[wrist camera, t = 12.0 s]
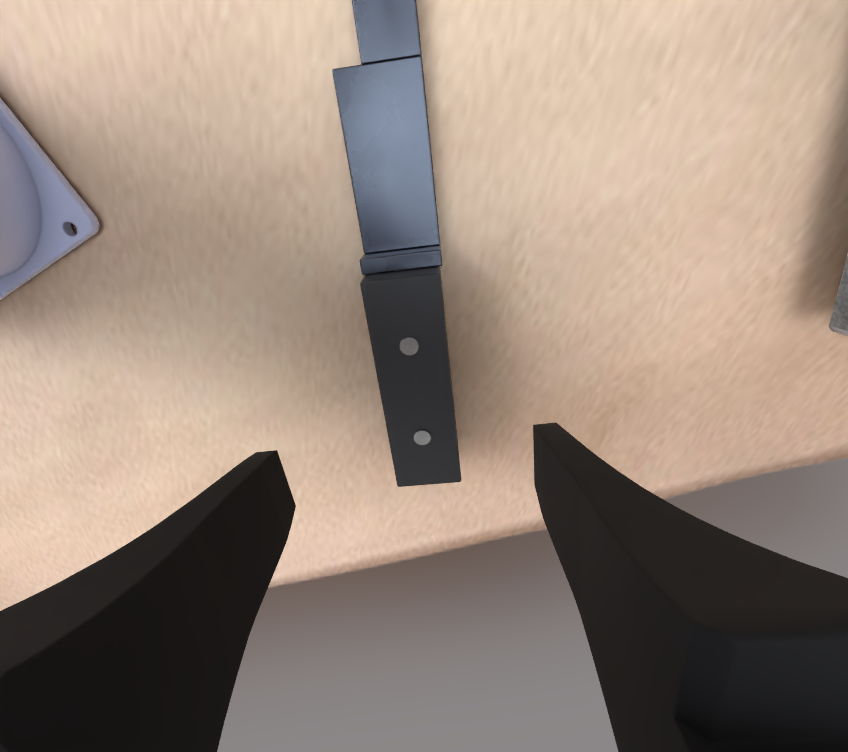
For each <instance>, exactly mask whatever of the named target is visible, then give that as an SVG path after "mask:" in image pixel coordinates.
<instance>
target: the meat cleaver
mask: <svg viewBox="0 0 848 752" xmlns="http://www.w3.org/2000/svg"><path fill="white" fill-rule="evenodd" d="M829 328H830V329H831V330H832V331H833V332H836V333H840V334H844V335H847V336H848V254H847V258H846V262H845V266H844V270H843V274H842V277H841V281H840V285H839V289H838V293H837V297H836V301H835V304H834V308H833V312H832V316H831V320H830V324H829Z"/></svg>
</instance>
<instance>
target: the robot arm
mask: <svg viewBox="0 0 848 752" xmlns="http://www.w3.org/2000/svg"><path fill="white" fill-rule="evenodd" d="M71 223H72V224H74V225H75V227H76V229H77V234H76V233H75V232H73V230H72V228H71ZM98 230H99V222H98V219H97V217H96V216H95V214H94V213H93V212H92V211H91V209H90V208H89V207H88V206H87V204H86V203H85V202H84V201H83V200H82V198H81V197H80V196H79V195H78V193H77V192H76V191H75V190H74V188H73V187H72V186H71V185H70V183H69V182H68V181H67V180H66V178H65V177H64V176H63V175H62V173H61V172H60V171H59V170H58V169H57V167H56V166H55V165H54V164H53V162H52V161H51V160H50V159H49V157H48V156H47V155H46V154H45V152H44V151H43V150H42V149H41V147H40V146H39V145H38V144H37V142H36V141H35V140H34V139H33V137H32V136H31V135H30V134H29V133H28V131H27V130H26V129H25V128H24V126H23V125H22V124H21V123H20V121H19V120H18V119H17V118H16V116H15V115H14V114H13V113H12V111H11V110H10V109H9V108H8V106H7V105H6V104H5V103H4V102H3V100H2V99H1V98H0V300H2V299H3V298H4V297H6V296H7V295H9V294H10V293H12V292H13V291H14V290H16V289H17V288H19V287H20V286H22V285H23V284H24V283H26V282H27V281H29V280H30V279H32V278H33V277H35V276H36V275H37V274H39V273H40V272H42V271H43V270H45V269H46V268H47V267H49V266H50V265H52V264H53V263H55V262H56V261H57V260H59V259H60V258H62V257H63V256H65V255H66V254H67V253H69V252H70V251H72V250H73V249H75V248H76V247H78V246H79V245H80V244H82V243H83V242H85V241H86V240H88V239H89V238H90V237H92V236H93V235H95V234H96V233H97V232H98ZM533 437H534V481H535V488H536V492H537V496H538V500H539V504H540V508H541V512H542V515H543V519H544V521H545V524H546V527H547V529H548V532H549V534H550V537H551V539H552V542H553V545H554V547H555V550H556V552H557V555H558V557H559V560H560V562H561V565H562V567H563V570H564V572H565V575H566V577H567V580H568V582H569V585H570V587H571V590H572V592H573V595H574V598H575V600H576V603H577V606H578V609H579V612H580V615H581V618H582V622H583V625H584V629H585V632H586V635H587V639H588V642H589V646H590V649H591V652H592V656H593V660H594V663H595V667H596V670H597V674H598V677H599V681H600V685H601V688H602V692H603V695H604V699H605V703H606V706H607V710H608V714H609V718H610V721H611V725H612V729H613V733H614V736H615V740H616V744H617V747H618V752H848V578H845V577H843V576H840V575H837V574H834V573H830V572H828V571H825V570H822V569H819V568H816V567H813V566H810V565H807V564H804V563H802V562H799V561H796V560H793V559H791V558H788V557H786V556H783V555H780V554H778V553H776V552H773V551H770V550H768V549H766V548H763V547H761V546H758V545H756V544H753V543H751V542H749V541H746V540H744V539H742V538H739V537H737V536H735V535H732V534H730V533H728V532H725V531H724V530H722V529H719V528H717V527H715V526H713V525H711V524H709V523H707V522H705V521H703V520H700V519H698V518H696V517H694V516H692V515H690V514H688V513H686V512H685V511H683V510H681V509H679V508H677V507H675V506H674V505H672V504H670V503H668V502H666V501H665V500H663V499H661V498H659V497H658V496H656V495H654V494H652V493H651V492H649V491H648V490H646V489H644V488H643V487H641V486H639V485H638V484H636V483H635V482H633V481H632V480H630V479H629V478H627V477H626V476H624V475H623V474H621V473H620V472H619V471H617V470H616V469H614V468H613V467H611V466H610V465H609V464H607V463H606V462H605V461H603V460H602V459H601V458H599V457H598V456H597V455H595V454H594V453H593V452H591V451H590V450H589V449H588V448H586V447H585V446H584V445H583V444H582V443H580V442H579V441H578V440H577V439H575V438H574V437H573V436H572V435H571V434H569V433H568V432H567V431H566V430H564V429H563V428H562V427H561V426H560V425H558V424H557V423H548V424H538V425H533ZM295 507H296V505H295V502H294V499H293V496H292V493H291V490H290V488H289V485H288V482H287V479H286V476H285V473H284V470H283V467H282V464H281V461H280V458H279V455H278V452H277V450H275V451H265V452H256V453H255V454H253V455H251V456H250V457H248V458H247V459H246V460H244V461H243V462H241V463H240V464H239V465H237V466H236V467H235V468H233V469H232V470H231V471H229V472H228V473H227V474H225V475H224V476H223V477H221V478H220V479H219V480H218V481H216V482H215V483H214V484H212V485H211V486H210V487H208V488H207V489H206V490H204V491H203V492H202V493H200V494H199V495H198V496H197V497H195V498H194V499H193V500H191V501H190V502H188V503H187V504H186V505H184V506H183V507H181V508H180V509H179V510H177V511H176V512H174V513H173V514H171V515H170V516H169V517H167V518H166V519H164V520H163V521H162V522H160V523H159V524H157V525H156V526H154V527H153V528H151V529H150V530H148V531H147V532H145V533H144V534H142V535H141V536H139V537H138V538H136V539H134V540H133V541H131V542H130V543H128V544H126V545H125V546H123V547H121V548H120V549H118V550H117V551H115V552H113V553H112V554H110V555H108V556H106V557H105V558H103V559H101V560H99V561H98V562H96V563H94V564H92V565H90V566H88V567H87V568H85V569H83V570H81V571H79V572H77V573H76V574H74V575H72V576H70V577H68V578H66V579H65V580H63V581H61V582H59V583H57V584H55V585H53V586H51V587H49V588H47V589H45V590H43V591H41V592H39V593H37V594H35V595H33V596H31V597H29V598H27V599H25V600H23V601H21V602H19V603H17V604H14V605H12V606H10V607H8V608H6V609H4V610H2V611H0V752H217V749H218V745H219V741H220V737H221V733H222V728H223V725H224V720H225V717H226V713H227V710H228V706H229V702H230V698H231V695H232V691H233V688H234V684H235V680H236V677H237V673H238V670H239V667H240V664H241V660H242V657H243V653H244V650H245V647H246V644H247V640H248V637H249V634H250V631H251V628H252V626H253V623H254V620H255V617H256V615H257V613H258V610H259V608H260V605H261V603H262V601H263V598H264V596H265V593H266V591H267V588H268V586H269V584H270V581H271V579H272V576H273V574H274V571H275V569H276V567H277V564H278V562H279V559H280V557H281V554H282V552H283V549H284V547H285V544H286V541H287V539H288V535H289V531H290V528H291V524H292V520H293V515H294V511H295Z"/></svg>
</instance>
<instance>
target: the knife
mask: <svg viewBox="0 0 848 752" xmlns="http://www.w3.org/2000/svg"><path fill="white" fill-rule="evenodd" d="M352 4H353V11H354V18H355V24H356V31H357V38H358V44H359V51H360V58H361V63H362V65H357V66H350V67H344V68H337V69H333V70H332V72H333V78H334V83H335V89H336V95H337V100H338V106H339V112H340V118H341V123H342V129H343V135H344V140H345V146H346V152H347V158H348V163H349V169H350V175H351V180H352V186H353V192H354V198H355V203H356V209H357V215H358V220H359V226H360V232H361V238H362V243H363V249H364V253H365V255H364V256H363V257H362V258H361V259H360V265H361V270H362V274H363V275H366V276H365V277H364V279H363V280H362V281H361V283H360V285H361V291H362V296H363V302H364V307H365V313H366V318H367V323H368V329H369V334H370V340H371V345H372V350H373V356H374V361H375V367H376V372H377V378H378V383H379V388H380V394H381V399H382V405H383V410H384V415H385V421H386V426H387V432H388V437H389V443H390V448H391V453H392V459H393V464H394V470H395V475H396V480H397V485H398V487H402V486H414V485H427V484H439V483H451V482H460V481H461V471H460V461H459V450H458V439H457V430H456V420H455V410H454V400H453V390H452V380H451V371H450V361H449V351H448V341H447V331H446V321H445V312H444V302H443V292H442V282H441V272H440V266H442V257H441V247H440V237H439V227H438V217H437V207H436V197H435V187H434V177H433V167H432V156H431V146H430V136H429V126H428V116H427V106H426V96H425V86H424V76H423V66H422V57H421V46H420V35H419V25H418V15H417V5H416V0H352Z"/></svg>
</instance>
